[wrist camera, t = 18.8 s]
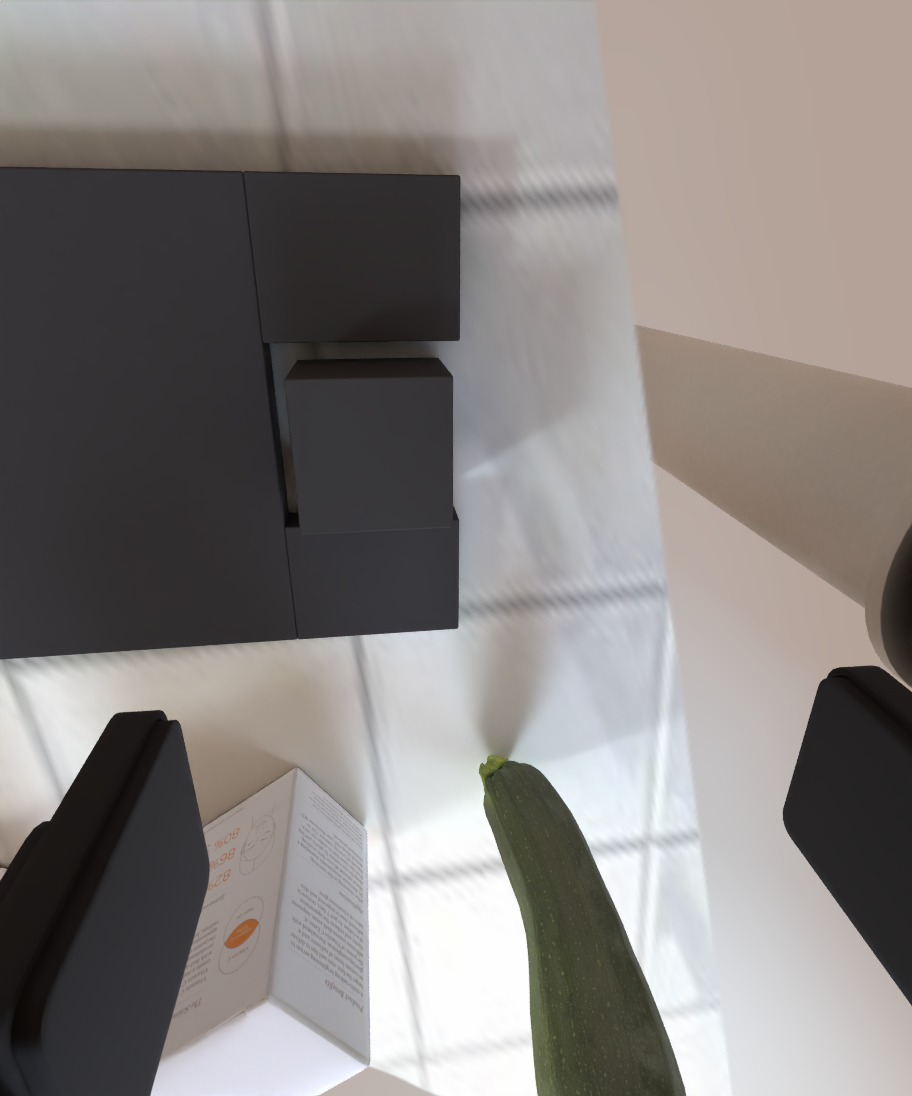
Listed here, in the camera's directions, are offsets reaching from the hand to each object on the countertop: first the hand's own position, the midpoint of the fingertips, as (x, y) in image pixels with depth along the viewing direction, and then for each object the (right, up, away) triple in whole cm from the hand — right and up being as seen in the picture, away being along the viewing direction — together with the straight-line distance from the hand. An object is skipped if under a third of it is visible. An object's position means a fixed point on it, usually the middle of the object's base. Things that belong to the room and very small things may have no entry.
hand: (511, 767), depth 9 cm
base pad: (-10, +7, +13) cm, 18 cm away
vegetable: (+2, -7, +22) cm, 23 cm away
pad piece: (-4, +8, +14) cm, 17 cm away
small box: (-10, -11, +22) cm, 26 cm away
